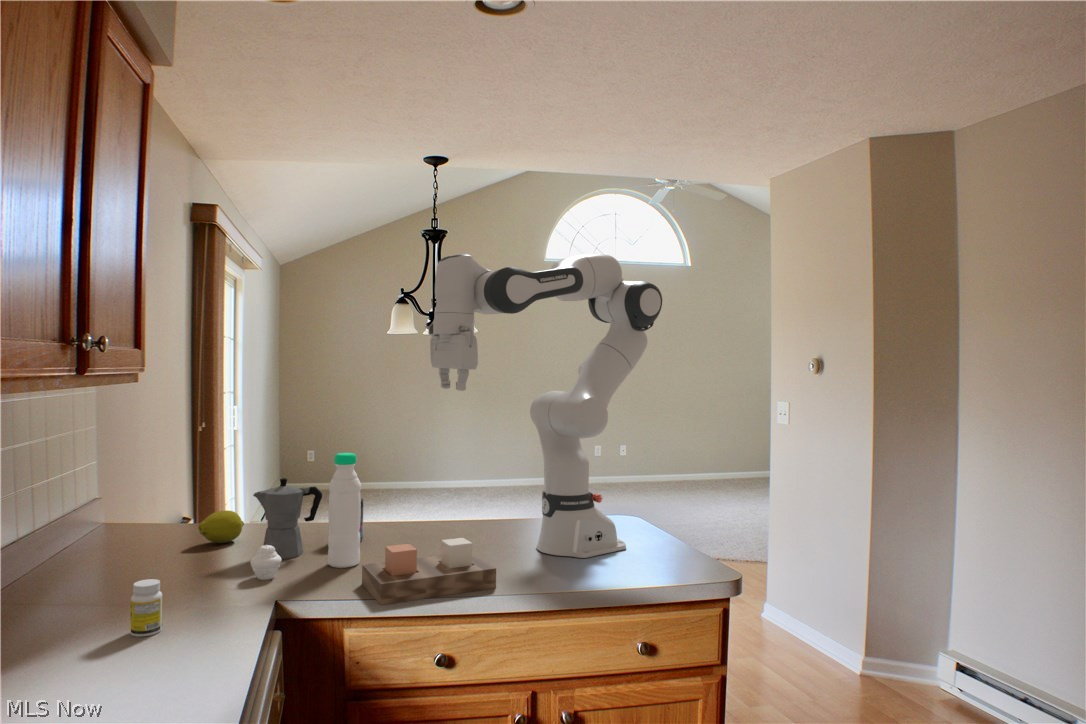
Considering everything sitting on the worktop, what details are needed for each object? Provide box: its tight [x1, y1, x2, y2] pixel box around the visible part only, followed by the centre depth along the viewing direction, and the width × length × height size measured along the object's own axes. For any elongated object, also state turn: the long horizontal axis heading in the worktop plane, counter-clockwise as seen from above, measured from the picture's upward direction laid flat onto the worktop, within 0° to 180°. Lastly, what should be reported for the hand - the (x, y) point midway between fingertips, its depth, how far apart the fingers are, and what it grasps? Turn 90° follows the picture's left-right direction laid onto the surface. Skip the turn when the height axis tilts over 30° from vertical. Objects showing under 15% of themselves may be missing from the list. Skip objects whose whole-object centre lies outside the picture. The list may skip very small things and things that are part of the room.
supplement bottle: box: [130, 578, 163, 638], centre depth 123 cm, size 5×5×8 cm
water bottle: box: [327, 452, 362, 569], centre depth 164 cm, size 7×7×25 cm
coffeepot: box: [252, 477, 323, 560], centre depth 171 cm, size 15×9×18 cm, turn 113°
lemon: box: [198, 510, 245, 544], centre depth 180 cm, size 11×8×8 cm
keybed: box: [361, 552, 497, 606], centre depth 149 cm, size 24×14×4 cm, turn 118°
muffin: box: [250, 545, 283, 581], centre depth 153 cm, size 6×6×7 cm
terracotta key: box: [384, 543, 418, 576], centre depth 147 cm, size 5×5×5 cm
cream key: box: [440, 537, 473, 569], centre depth 152 cm, size 5×5×5 cm
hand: (452, 389), depth 161 cm, fingers open, 8 cm apart
